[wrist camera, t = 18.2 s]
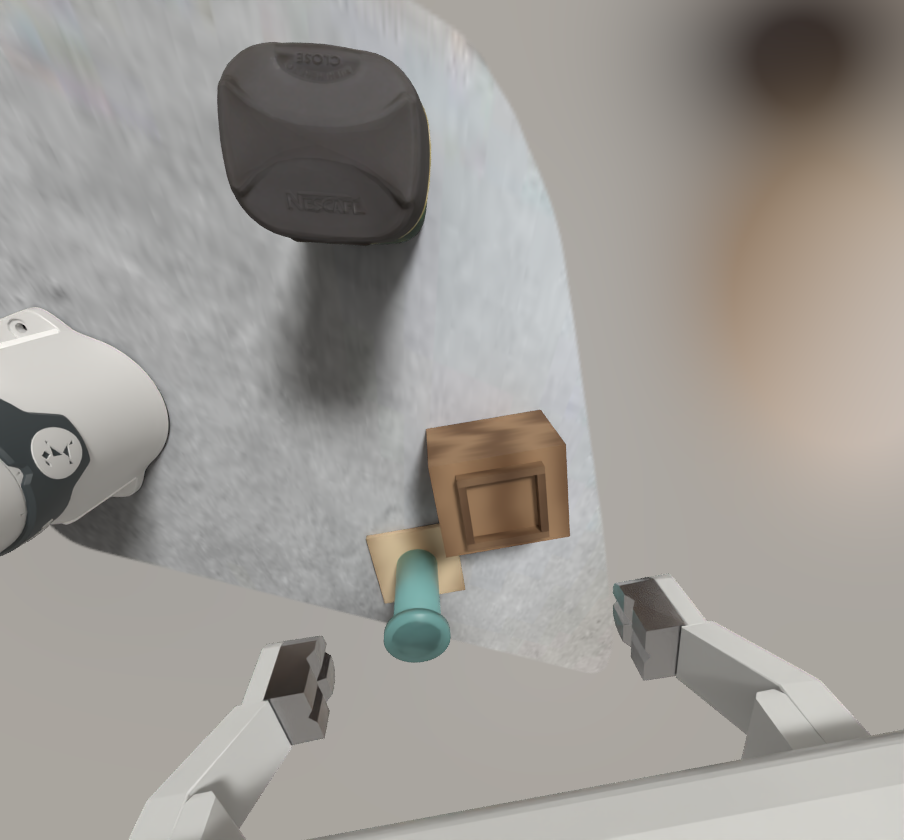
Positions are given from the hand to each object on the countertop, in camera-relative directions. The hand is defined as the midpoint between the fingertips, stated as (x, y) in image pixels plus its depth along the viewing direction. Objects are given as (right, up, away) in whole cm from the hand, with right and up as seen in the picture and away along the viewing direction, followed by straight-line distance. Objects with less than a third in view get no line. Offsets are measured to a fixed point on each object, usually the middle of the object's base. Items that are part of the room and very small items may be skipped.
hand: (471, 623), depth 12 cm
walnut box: (+3, +1, +34) cm, 34 cm away
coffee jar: (-7, +25, +23) cm, 34 cm away
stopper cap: (-5, -12, +38) cm, 40 cm away
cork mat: (-5, -11, +38) cm, 40 cm away
